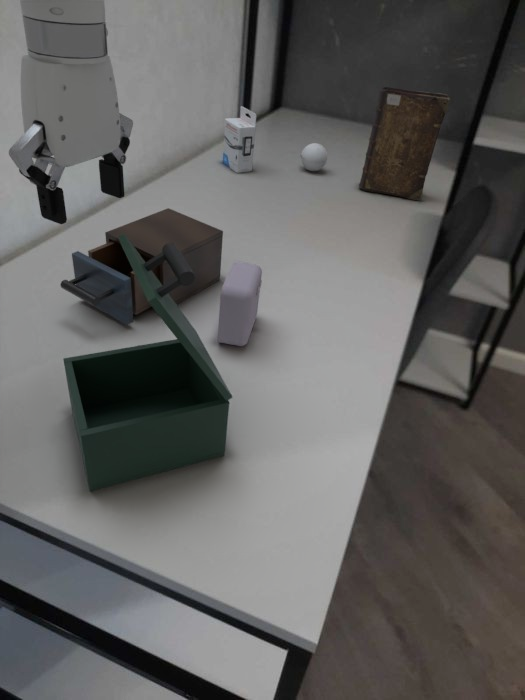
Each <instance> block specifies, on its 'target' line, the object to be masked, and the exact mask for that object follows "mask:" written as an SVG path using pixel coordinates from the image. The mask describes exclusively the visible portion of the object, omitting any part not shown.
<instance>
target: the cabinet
mask: <svg viewBox="0 0 525 700" xmlns="http://www.w3.org/2000/svg"><path fill="white" fill-rule="evenodd" d="M104 233H105V244H106V243H109V242H111V241H115V242H117V243H120V241H119V239H118V237H119V236H120V235H122V234H125V235H126V237H127V238H128V239H129V241H130V242H131V243H132V245H133V246H134V247H135V249H136V250H137V251H138V253H140V254H142V255H145V256H147V257H149V258H151V259H152V258H154V257H155V256H157V255H158V254H160V253H161V252H162V248H163V246H164V245H165V244H167V243H173V244H175V245H176V246H177V248H178V249H179V251H180V253H181V254H182V256H183V257H184V259H185V260H186V262H187V264H188V265H189V267H190V268H191V270H192V271H193V273H194V275H195V280H194V282H193V283H192V284H191V285H189V286H183V285H180V286H179V287H177V288H176V289H174V290H173V291H171V292H169V293H168V294H169V295H170V296H171V298H172V299H173V300H174V302H175V303H176V305H177V306H178V305H179V304H181V303H183V302H184V301H187V299H189V298H191V297H193V296H195V295H196V294H198V293H200V292H202V291H204V290H205V289H207V288H208V287H211V286H212V285H214V284H215V283H217V282H219V281H221V270H222V269H221V268H222V252H223V236H224V231H223V230H222V229H219V228H217V227H215V226H212V225H209V224H207V223H205V222H202V221H200V220H198V219H196V218H193V217H190V216H188V215H186V214H184V213H181V212H179V211H176V210H174V209H171V208H169V207H168V208H165V209H162V210H160V211H157V212H155V213H152V214H150V215H147V216H145V217H142V218H140V219H139V218H138V219H137V220H134V221H131V222H129V223H126V224H124V225H121V226H118V227H116V228H113V229H110V230H108V231H105V232H104ZM120 244H121V243H120ZM175 277H176V276H175V274H174V272H173V271H172V269H171V267H170V265H169V264H168V262H167V260H166V261H164V262H163V263H161V264H160V283H161V284H162V285H164V284H165V283H167V282H169V281H170V280H172V279H173V278H175Z"/></svg>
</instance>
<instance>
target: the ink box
mask: <svg viewBox="0 0 525 700" xmlns="http://www.w3.org/2000/svg"><path fill="white" fill-rule="evenodd" d="M239 108H240V109H239V110H240V112H239V117H232V118H231V117H230V118H229V117H228V118H224V133H223V148H222V149H223V151H222V163H223V164H224V165H225V166H227V167H228V168H230V170H232V171H234V172H235V173H236V174H240V173H249V172H253V163H254V162H253V161H254V151H255V141H256V139H255V138H256V128H257V127H256V125H257V113H255V112H253V111H252V110H250V109H248V108H246V107H244V105H240V107H239ZM247 115H248V116H247ZM249 116H250V117H249Z"/></svg>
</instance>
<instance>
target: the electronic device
mask: <svg viewBox="0 0 525 700" xmlns="http://www.w3.org/2000/svg"><path fill="white" fill-rule="evenodd" d="M262 276H263V269H262V268H261V266H260V265H258V264H256V263H251V262H245V261H238V260H234V261H233V263H232V265H231V267H230V268H229V271H228V273H227V275H226V277H225V280H224V282H223V283H222V286H221V291H220V298H219V313H218V328H217V343H221V344H227V345H231V346H238V347H244V346H245V345H247V344H248V342H249V340H250V336H251V334H252V331H253V327H254V325H255V321H256V318H257V315H258V308H259V301H260V293H261V288H262V287H261V286H262V281H263V280H262Z"/></svg>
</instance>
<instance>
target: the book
mask: <svg viewBox="0 0 525 700" xmlns="http://www.w3.org/2000/svg"><path fill="white" fill-rule="evenodd" d="M450 100H451V98H450V97H449V96H448V94H446V93H441V92H427V91H419V90H412V89H411V90H410V89H401V88H398V87H397V88H396V87H389V86H383V87H381V88H380V89H379V94H378V99H377V105H376V106H375V112H374V118H373V122H372V125H371V126H372V127H371V132H370V136H369V138H368V145H367V151H366V153H365V159H364V163H363V167H362V173H361V177H360V182H359V184H358V187H359V188H360V189H361V190H363V191H366V192H371V193H378V194H383V195H390V196H395V197H400V198H405V199H409V200H414V201H421V199H422V197H423V192H424V188H425V183H426V177H427V175H428V171H429V168H430V164H431V161H432V158H433V154H434V150H435V148H436V143H437V140H438V137H439V134H440V131H441V126H442V124H443V122H444V119H445V116H446V114H447V110H448V107H449V104H450Z"/></svg>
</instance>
